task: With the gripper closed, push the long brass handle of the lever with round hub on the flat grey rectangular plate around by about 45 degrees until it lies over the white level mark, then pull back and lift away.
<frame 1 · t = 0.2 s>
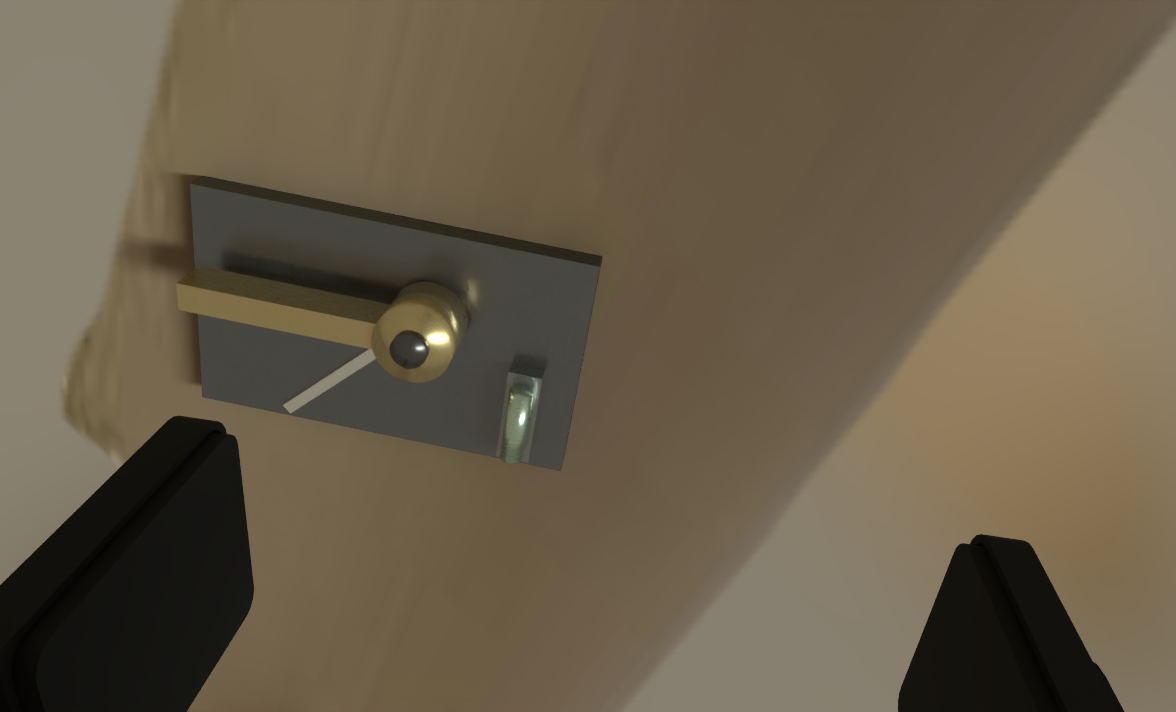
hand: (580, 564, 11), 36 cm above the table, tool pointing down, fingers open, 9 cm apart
flat grey rectangular plate: (394, 325, 52), on the table
lever with round hub: (323, 314, 47), point 4 cm above the table, hinge at 0.0°
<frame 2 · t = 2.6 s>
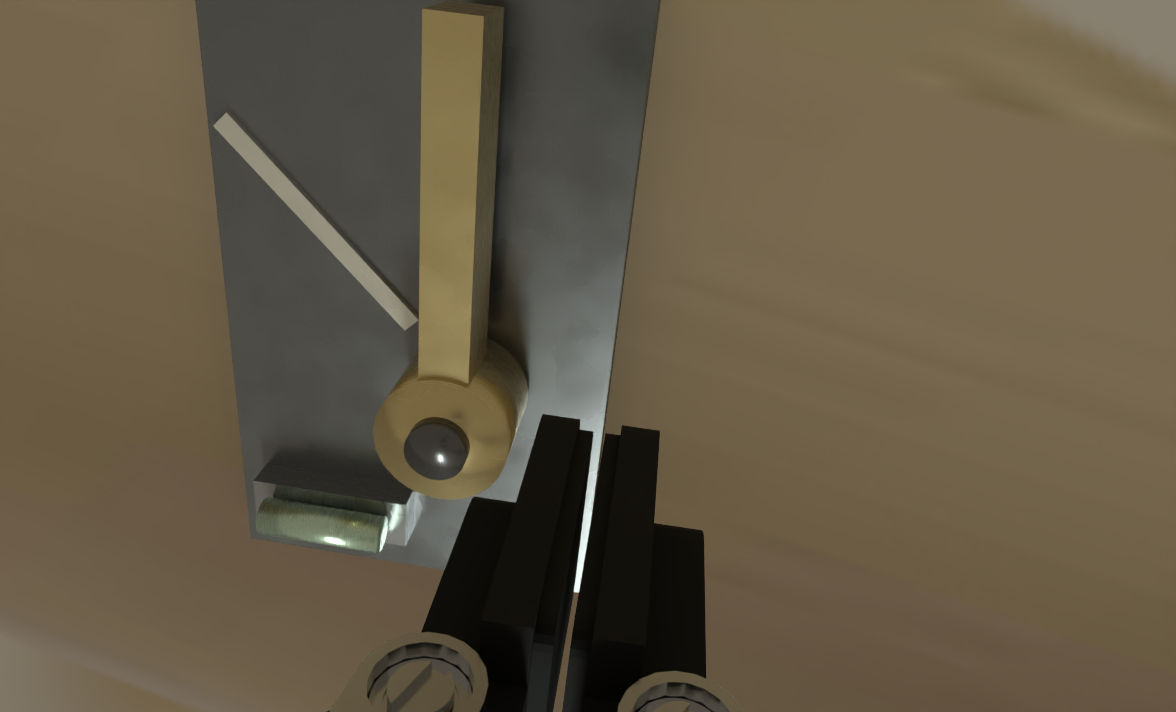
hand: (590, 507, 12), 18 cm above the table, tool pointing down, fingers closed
flat grey rectangular plate: (429, 297, 31), on the table
lever with round hub: (457, 270, 27), point 4 cm above the table, hinge at 0.0°
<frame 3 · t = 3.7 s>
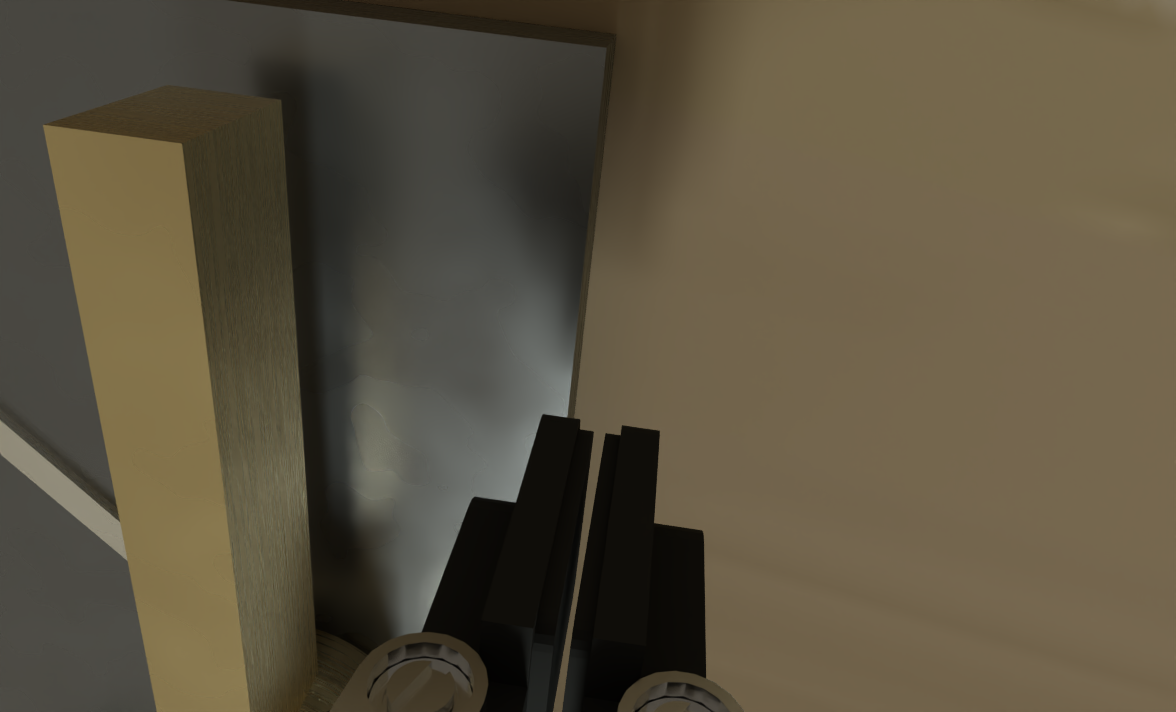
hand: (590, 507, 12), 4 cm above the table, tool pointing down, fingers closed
flat grey rectangular plate: (244, 541, 19), on the table
lever with round hub: (232, 577, 14), point 4 cm above the table, hinge at 0.0°
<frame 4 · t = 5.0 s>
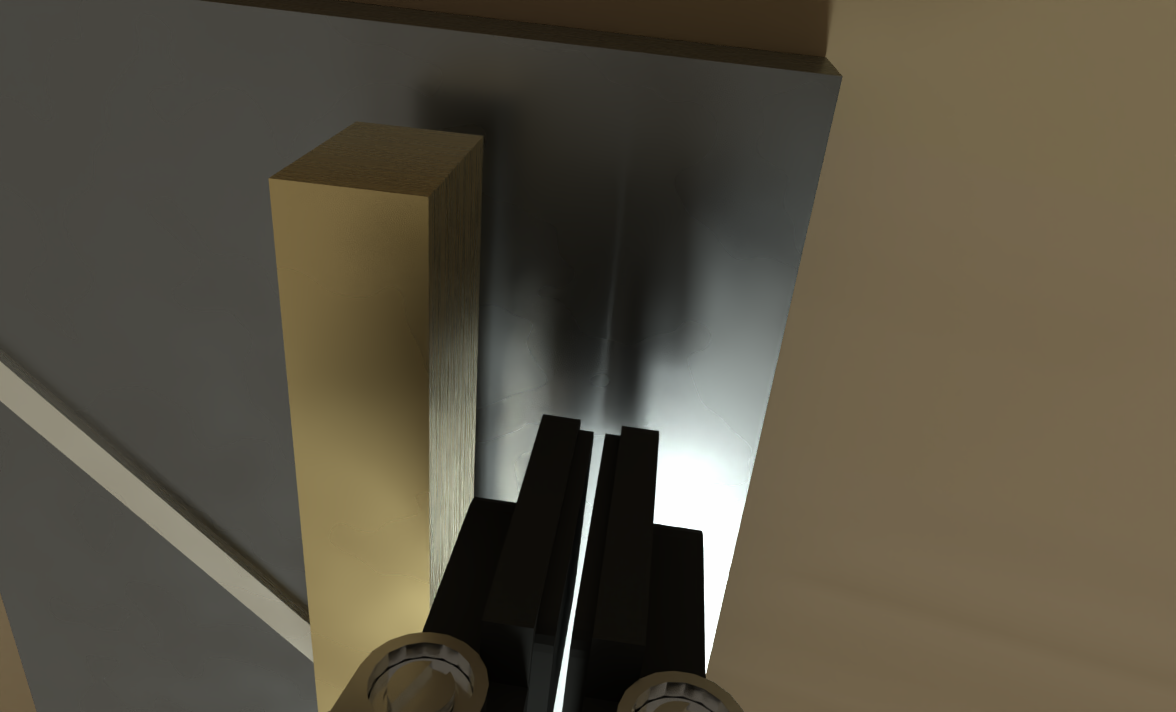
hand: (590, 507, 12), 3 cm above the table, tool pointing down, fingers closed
flat grey rectangular plate: (368, 587, 18), on the table
lever with round hub: (401, 645, 13), point 4 cm above the table, hinge at 0.7°, touching gripper
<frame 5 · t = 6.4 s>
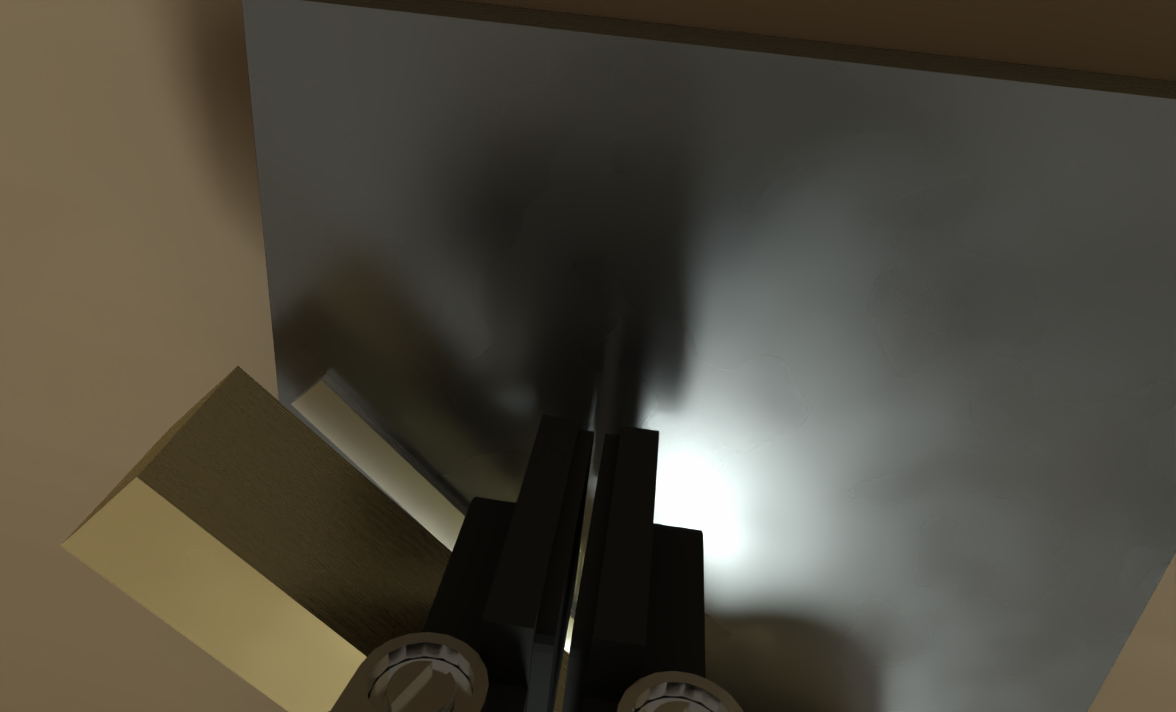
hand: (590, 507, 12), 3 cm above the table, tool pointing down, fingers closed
flat grey rectangular plate: (676, 644, 17), on the table
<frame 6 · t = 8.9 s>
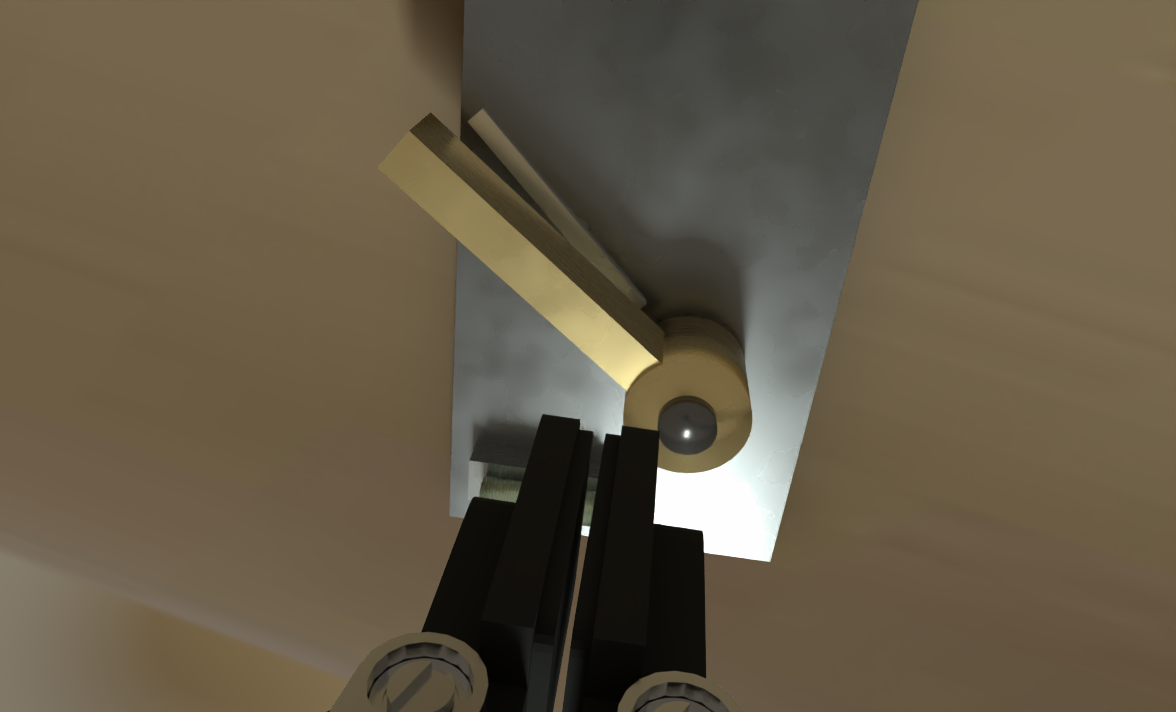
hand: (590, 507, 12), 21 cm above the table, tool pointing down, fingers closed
flat grey rectangular plate: (644, 282, 33), on the table
lever with round hub: (578, 297, 29), point 4 cm above the table, hinge at 51.9°
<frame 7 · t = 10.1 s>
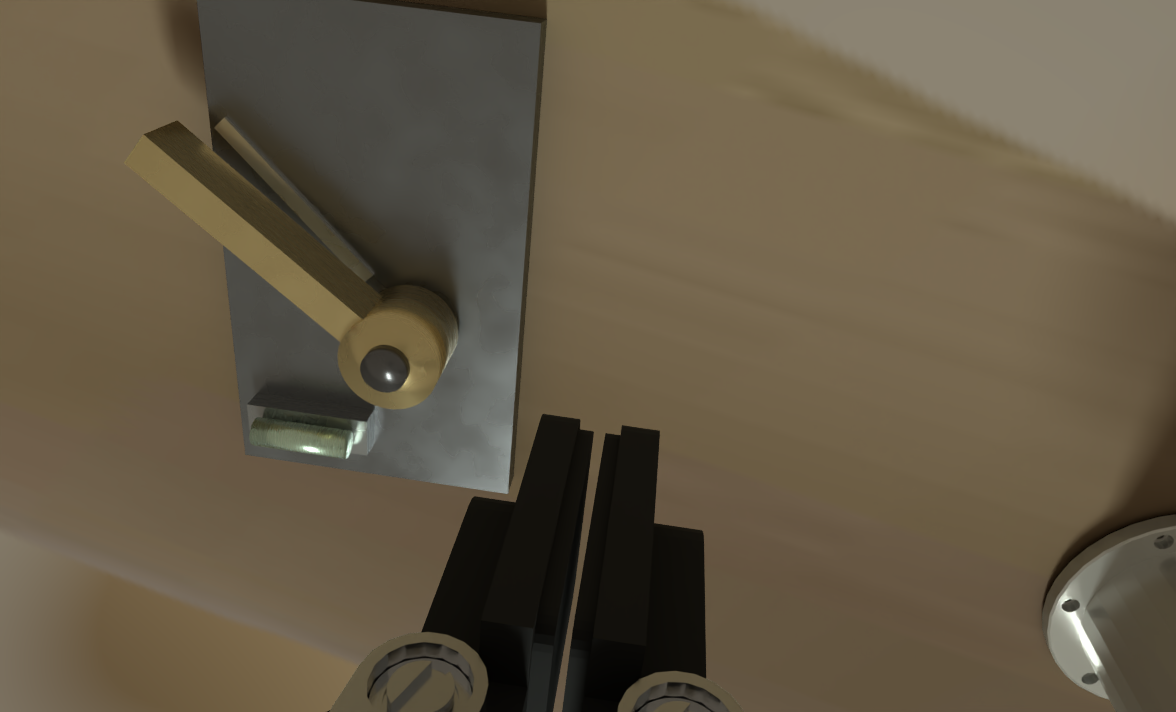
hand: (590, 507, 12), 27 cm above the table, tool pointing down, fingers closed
flat grey rectangular plate: (382, 258, 41), on the table
lever with round hub: (301, 267, 37), point 4 cm above the table, hinge at 51.9°
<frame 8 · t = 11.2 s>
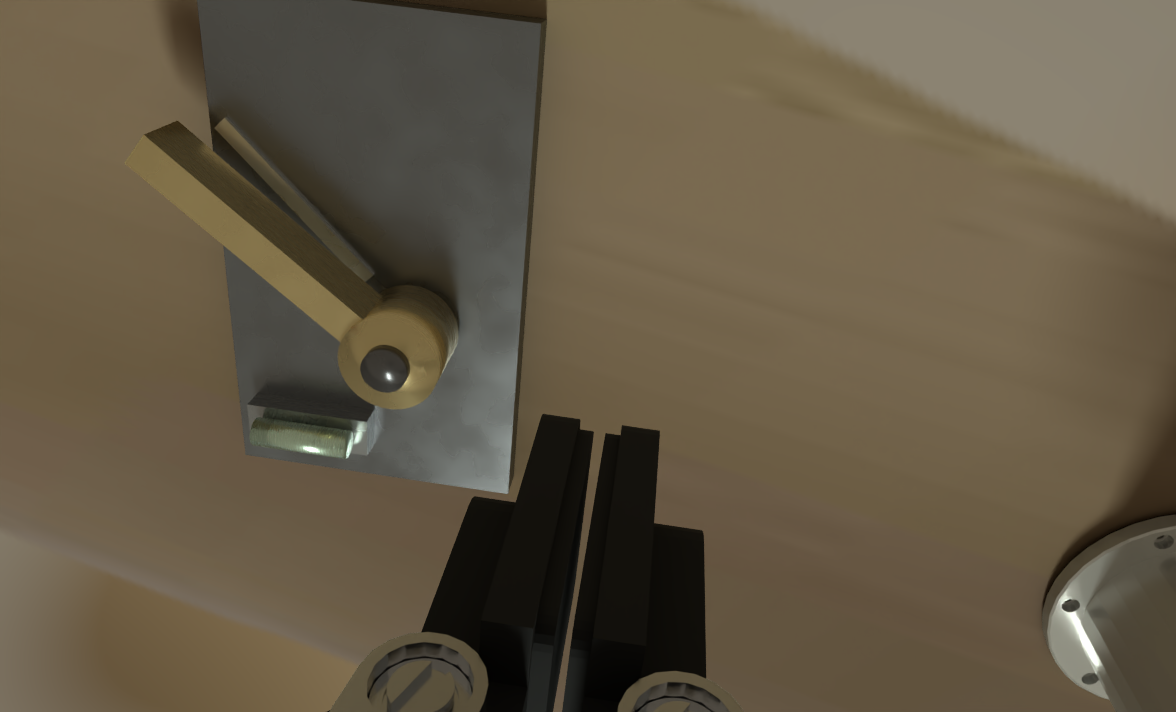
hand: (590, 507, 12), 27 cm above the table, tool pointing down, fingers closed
flat grey rectangular plate: (382, 258, 41), on the table
lever with round hub: (301, 267, 37), point 4 cm above the table, hinge at 51.9°
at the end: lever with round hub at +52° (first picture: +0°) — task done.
